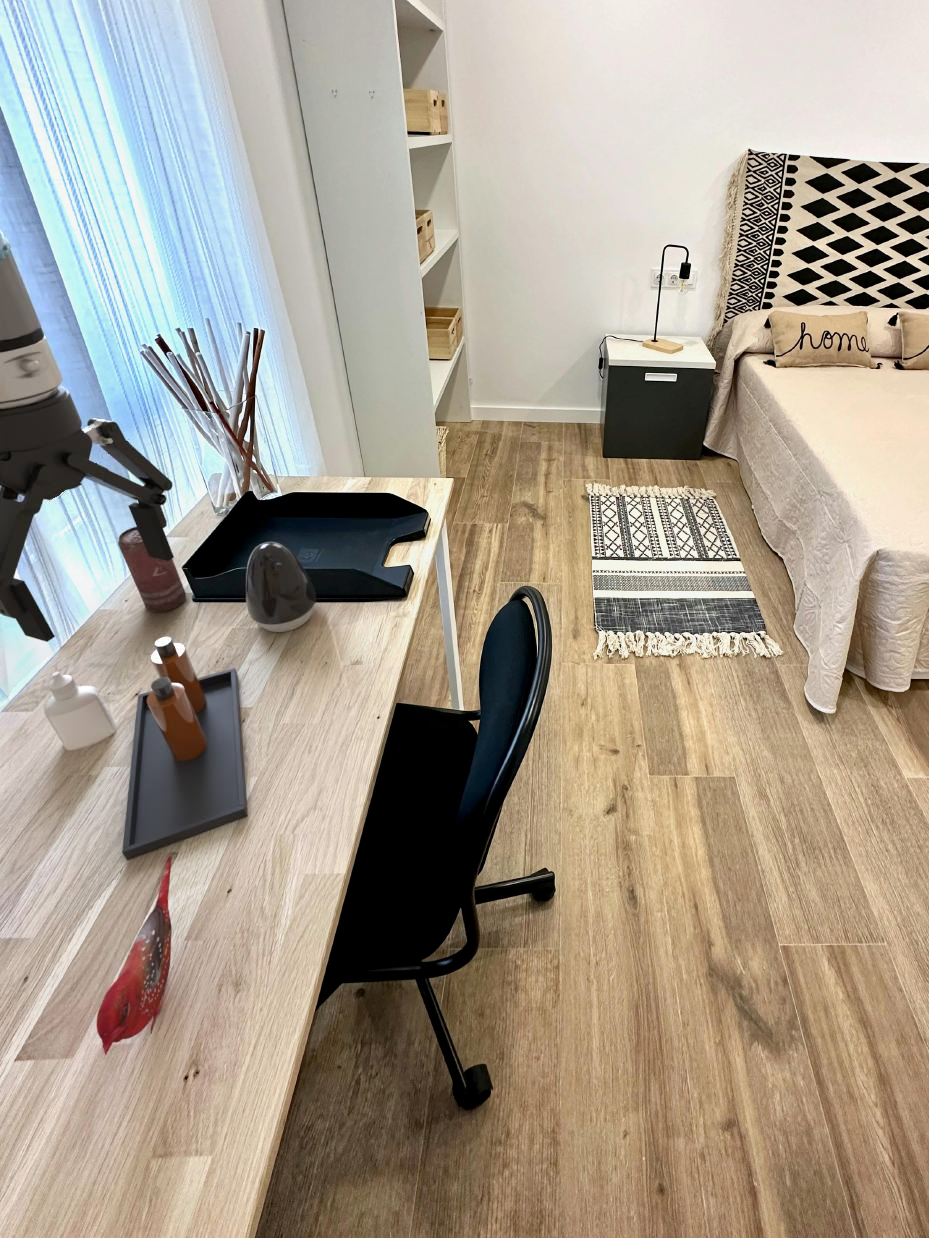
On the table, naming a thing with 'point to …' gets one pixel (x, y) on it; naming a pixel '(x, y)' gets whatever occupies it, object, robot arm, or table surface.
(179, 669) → the amber bottle
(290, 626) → the dark grey rounded cone
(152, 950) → the decorative bird figurine
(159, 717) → the amber bottle
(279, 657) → the table surface
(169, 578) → the can
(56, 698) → the eye dropper bottle
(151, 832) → the tray
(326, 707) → the table surface
